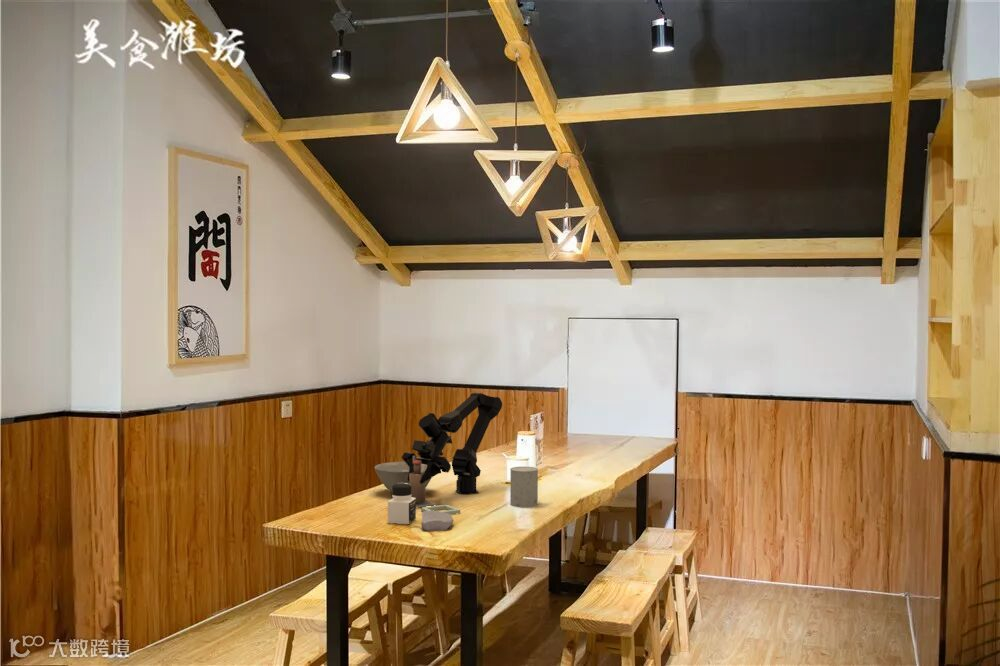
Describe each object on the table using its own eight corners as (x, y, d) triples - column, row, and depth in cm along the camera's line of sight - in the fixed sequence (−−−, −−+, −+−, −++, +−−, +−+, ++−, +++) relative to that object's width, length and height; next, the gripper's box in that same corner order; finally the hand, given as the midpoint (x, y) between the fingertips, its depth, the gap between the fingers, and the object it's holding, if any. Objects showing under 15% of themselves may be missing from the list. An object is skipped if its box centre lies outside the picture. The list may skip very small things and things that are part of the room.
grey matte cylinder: (518, 508, 303) (518, 472, 303) (505, 503, 312) (505, 467, 312) (543, 505, 308) (543, 469, 308) (529, 500, 316) (529, 465, 316)
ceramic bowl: (421, 501, 314) (421, 473, 314) (363, 497, 322) (362, 469, 322) (446, 490, 335) (446, 463, 335) (391, 485, 343) (391, 459, 343)
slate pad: (423, 500, 316) (423, 499, 316) (436, 505, 307) (436, 504, 307) (397, 503, 311) (397, 502, 310) (410, 509, 302) (410, 507, 302)
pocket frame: (446, 508, 304) (446, 504, 304) (460, 513, 296) (460, 509, 295) (421, 511, 299) (421, 507, 299) (434, 516, 291) (434, 513, 291)
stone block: (450, 527, 284) (419, 522, 283) (453, 513, 284) (422, 507, 283) (451, 538, 272) (419, 532, 271) (455, 523, 272) (422, 517, 271)
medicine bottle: (409, 524, 280) (409, 486, 279) (387, 523, 281) (387, 485, 281) (416, 519, 287) (416, 482, 286) (394, 518, 288) (394, 481, 288)
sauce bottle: (425, 499, 312) (424, 458, 311) (425, 502, 306) (425, 461, 306) (409, 499, 311) (409, 459, 311) (409, 502, 306) (409, 461, 305)
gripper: (405, 429, 317) (383, 464, 309) (445, 433, 306) (423, 470, 297) (420, 448, 324) (399, 484, 315) (460, 453, 312) (439, 490, 304)
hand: (414, 481), depth 308 cm, fingers closed on sauce bottle, 5 cm apart
